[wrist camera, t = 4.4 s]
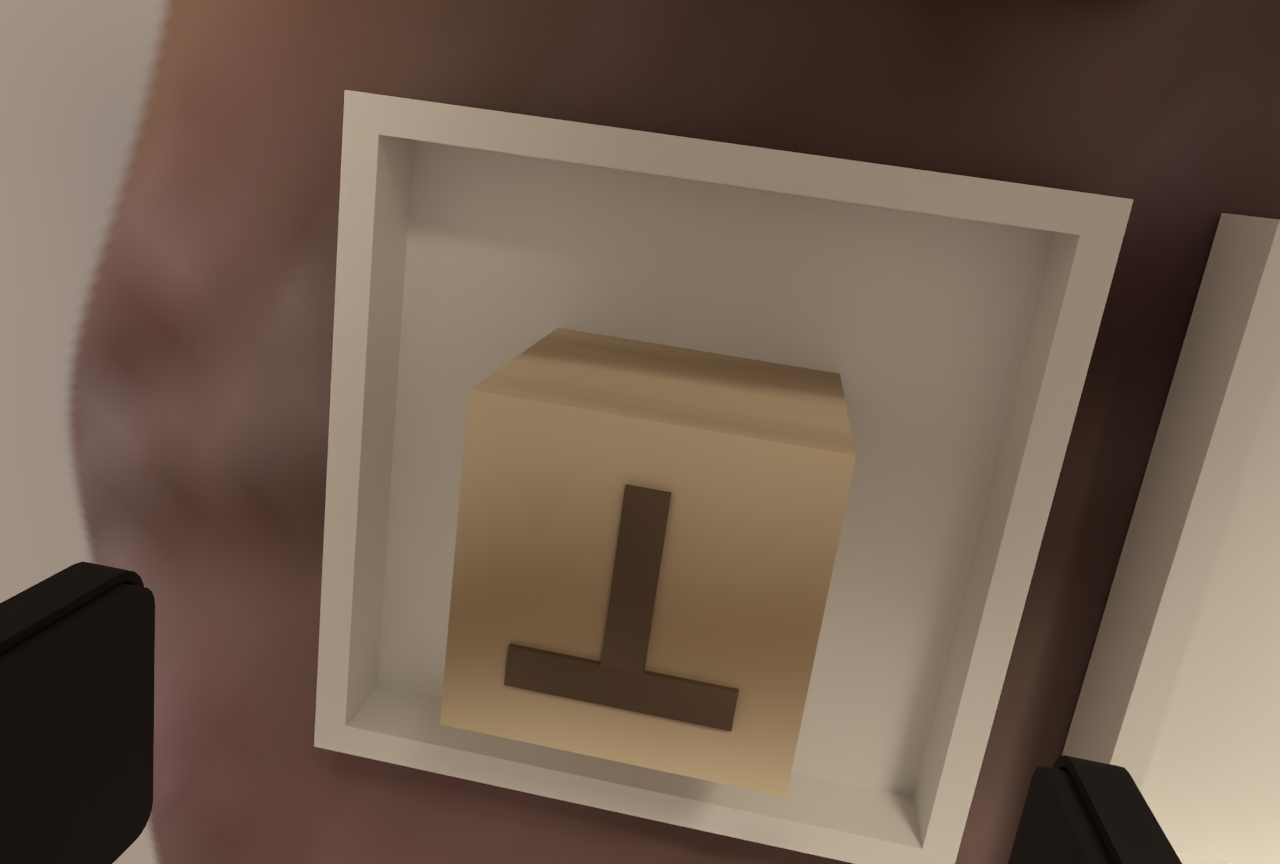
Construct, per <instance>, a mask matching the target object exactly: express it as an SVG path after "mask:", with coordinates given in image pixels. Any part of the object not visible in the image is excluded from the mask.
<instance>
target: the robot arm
mask: <svg viewBox="0 0 1280 864" xmlns="http://www.w3.org/2000/svg"><path fill="white" fill-rule="evenodd" d="M154 639H155V602H154V596H153V594H152V591H150V590H149V589H148V588H145V587H144V585H143V582H142V580H141V577H140V576H139V575H138V574H137V573H135V572H133V571H128V570H123V569H118V568H113V567H108V566H103V565H98V564H93V563H87V562H80V563H77V564H74V565H72V566H70V567H68V568H67V569H64V570H63V571H61V572H59V573H57V574H55V575H53V576H51V577H49V578H47V579H45V580H44V581H42V582H40V583H38V584H36V585H34V586H32V587H30V588H29V589H27V590H25V591H23V592H21V593H19V594H17V595H16V596H13V597H12V598H10V599H8V600H6V601H4V602H2V603H0V864H112V863H113V862H114V861H115V860H116V859H117V858H118V857H119V856H120V855H121V854H122V853H123V852H124V851H125V850H126V849H127V848H128V847H129V846H130V845H131V844H132V843H133V842H134V841H135V840H136V839H137V838H138V837H139V835H140V834H141V833H142V831H143V829H144V828H145V826H146V824H147V821H148V819H149V817H150V813H151V810H152V803H153V738H154ZM1008 864H1182V862H1181V861H1180V859H1179V857H1178V856H1177V854H1176V852H1175V850H1174V849H1173V847H1172V845H1171V844H1170V842H1169V840H1168V838H1167V837H1166V835H1165V833H1164V832H1163V830H1162V828H1161V826H1160V825H1159V823H1158V821H1157V820H1156V818H1155V816H1154V814H1153V813H1152V811H1151V809H1150V808H1149V806H1148V804H1147V802H1146V801H1145V799H1144V797H1143V796H1142V794H1141V792H1140V790H1139V789H1138V787H1137V785H1136V784H1135V782H1134V780H1133V778H1132V777H1131V775H1130V773H1129V772H1128V771H1127V770H1126V769H1125V768H1124V767H1121V766H1116V765H1111V764H1106V763H1101V762H1096V761H1091V760H1086V759H1081V758H1076V757H1070V756H1065V755H1063V756H1061V757H1059V758H1058V760H1057V761H1056V763H1055V764H1054V766H1053V768H1050V767H1045V766H1039V767H1038V768H1037V769H1036V771H1035V772H1034V774H1033V777H1032V780H1031V784H1030V787H1029V791H1028V794H1027V798H1026V802H1025V805H1024V809H1023V812H1022V816H1021V820H1020V823H1019V827H1018V831H1017V834H1016V838H1015V841H1014V845H1013V849H1012V852H1011V856H1010V859H1009V863H1008Z"/></svg>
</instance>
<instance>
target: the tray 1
mask: <svg viewBox="0 0 1280 864" xmlns="http://www.w3.org/2000/svg"><path fill="white" fill-rule="evenodd" d="M1133 200H1134V199H1128V198H1120V197H1113V196H1106V195H1099V194H1092V193H1084V192H1077V191H1070V190H1063V189H1056V188H1048V187H1041V186H1034V185H1027V184H1020V183H1012V182H1005V181H998V180H991V179H984V178H976V177H969V176H962V175H955V174H948V173H940V172H933V171H926V170H919V169H912V168H904V167H897V166H890V165H883V164H876V163H868V162H861V161H854V160H847V159H840V158H832V157H825V156H818V155H811V154H804V153H796V152H789V151H782V150H775V149H768V148H760V147H753V146H746V145H739V144H732V143H724V142H717V141H710V140H703V139H696V138H688V137H681V136H674V135H667V134H660V133H652V132H645V131H638V130H631V129H624V128H616V127H609V126H602V125H595V124H588V123H580V122H573V121H566V120H559V119H552V118H544V117H537V116H530V115H523V114H516V113H508V112H501V111H494V110H487V109H480V108H472V107H465V106H458V105H451V104H443V103H436V102H429V101H422V100H415V99H407V98H400V97H393V96H386V95H379V94H371V93H364V92H357V91H350V90H345V93H344V115H343V136H342V158H341V179H340V201H339V222H338V244H337V265H336V286H335V308H334V329H333V351H332V372H331V394H330V415H329V436H328V458H327V479H326V501H325V522H324V544H323V565H322V587H321V608H320V629H319V651H318V672H317V694H316V715H315V737H314V747H319V748H323V749H328V750H332V751H337V752H342V753H346V754H351V755H356V756H360V757H365V758H369V759H374V760H379V761H383V762H388V763H392V764H397V765H402V766H406V767H411V768H415V769H420V770H425V771H429V772H434V773H439V774H443V775H448V776H452V777H457V778H462V779H466V780H471V781H475V782H480V783H485V784H489V785H494V786H498V787H503V788H508V789H512V790H517V791H522V792H526V793H531V794H535V795H540V796H545V797H549V798H554V799H558V800H563V801H568V802H572V803H577V804H582V805H586V806H591V807H595V808H600V809H605V810H609V811H614V812H618V813H623V814H628V815H632V816H637V817H641V818H646V819H651V820H655V821H660V822H665V823H669V824H674V825H678V826H683V827H688V828H692V829H697V830H701V831H706V832H711V833H715V834H720V835H724V836H729V837H734V838H738V839H743V840H748V841H752V842H757V843H761V844H766V845H771V846H775V847H780V848H784V849H789V850H794V851H798V852H803V853H808V854H812V855H817V856H821V857H826V858H831V859H835V860H840V861H844V862H849V863H854V864H955V862H956V858H957V854H958V850H959V847H960V843H961V839H962V836H963V832H964V828H965V824H966V821H967V817H968V813H969V810H970V806H971V802H972V798H973V795H974V791H975V787H976V784H977V780H978V776H979V772H980V769H981V765H982V761H983V758H984V754H985V750H986V746H987V743H988V739H989V735H990V732H991V728H992V724H993V720H994V717H995V713H996V709H997V706H998V702H999V698H1000V694H1001V691H1002V687H1003V683H1004V680H1005V676H1006V672H1007V668H1008V665H1009V661H1010V657H1011V653H1012V650H1013V646H1014V642H1015V639H1016V635H1017V631H1018V627H1019V624H1020V620H1021V616H1022V613H1023V609H1024V605H1025V601H1026V598H1027V594H1028V590H1029V587H1030V583H1031V579H1032V575H1033V572H1034V568H1035V564H1036V561H1037V557H1038V553H1039V549H1040V546H1041V542H1042V538H1043V535H1044V531H1045V527H1046V523H1047V520H1048V516H1049V512H1050V509H1051V505H1052V501H1053V497H1054V494H1055V490H1056V486H1057V483H1058V479H1059V475H1060V471H1061V468H1062V464H1063V460H1064V457H1065V453H1066V449H1067V445H1068V442H1069V438H1070V434H1071V431H1072V427H1073V423H1074V419H1075V416H1076V412H1077V408H1078V405H1079V401H1080V397H1081V393H1082V390H1083V386H1084V382H1085V379H1086V375H1087V371H1088V367H1089V364H1090V360H1091V356H1092V353H1093V349H1094V345H1095V341H1096V338H1097V334H1098V330H1099V327H1100V323H1101V319H1102V315H1103V312H1104V308H1105V304H1106V301H1107V297H1108V293H1109V289H1110V286H1111V282H1112V278H1113V275H1114V271H1115V267H1116V263H1117V260H1118V256H1119V252H1120V249H1121V245H1122V241H1123V237H1124V234H1125V230H1126V226H1127V223H1128V219H1129V215H1130V211H1131V208H1132V204H1133ZM557 328H563V329H569V330H575V331H581V332H587V333H593V334H600V335H606V336H612V337H618V338H624V339H630V340H636V341H643V342H649V343H655V344H661V345H667V346H673V347H680V348H686V349H692V350H698V351H704V352H710V353H716V354H723V355H729V356H735V357H741V358H747V359H753V360H759V361H766V362H772V363H778V364H784V365H790V366H796V367H802V368H809V369H815V370H821V371H827V372H833V373H839V374H840V377H841V382H842V387H843V392H844V397H845V402H846V407H847V412H848V417H849V422H850V427H851V432H852V437H853V442H854V447H855V452H856V460H855V465H854V470H853V474H852V479H851V484H850V489H849V494H848V499H847V504H846V508H845V513H844V518H843V523H842V528H841V533H840V537H839V542H838V547H837V552H836V557H835V562H834V567H833V571H832V576H831V581H830V586H829V591H828V596H827V601H826V605H825V610H824V615H823V620H822V625H821V630H820V634H819V639H818V644H817V649H816V654H815V659H814V664H813V668H812V673H811V678H810V683H809V688H808V693H807V697H806V702H805V707H804V712H803V717H802V722H801V727H800V731H799V736H798V741H797V746H796V751H795V756H794V761H793V765H792V770H791V775H790V780H789V785H788V790H787V794H786V797H782V796H778V795H773V794H768V793H764V792H759V791H754V790H749V789H745V788H740V787H735V786H730V785H726V784H721V783H716V782H711V781H707V780H702V779H697V778H692V777H688V776H683V775H678V774H674V773H669V772H664V771H659V770H655V769H650V768H645V767H640V766H636V765H631V764H626V763H621V762H617V761H612V760H607V759H602V758H598V757H593V756H588V755H583V754H579V753H574V752H569V751H565V750H560V749H555V748H550V747H546V746H541V745H536V744H531V743H527V742H522V741H517V740H512V739H508V738H503V737H498V736H493V735H489V734H484V733H479V732H474V731H470V730H465V729H460V728H456V727H451V726H446V725H441V724H440V715H441V704H442V692H443V681H444V670H445V658H446V647H447V635H448V624H449V613H450V601H451V590H452V578H453V567H454V555H455V544H456V533H457V521H458V510H459V498H460V487H461V476H462V464H463V453H464V441H465V430H466V418H467V407H468V396H469V389H470V388H472V387H473V386H475V385H476V384H478V383H479V382H481V381H482V380H483V379H485V378H486V377H488V376H489V375H491V374H492V373H494V372H495V371H496V370H498V369H499V368H501V367H502V366H504V365H505V364H507V363H508V362H509V361H511V360H512V359H514V358H515V357H517V356H518V355H520V354H521V353H522V352H524V351H525V350H527V349H528V348H530V347H531V346H533V345H534V344H535V343H537V342H538V341H540V340H541V339H543V338H544V337H546V336H547V335H548V334H550V333H551V332H553V331H554V330H556V329H557Z"/></svg>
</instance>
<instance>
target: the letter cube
mask: <svg viewBox="0 0 1280 864" xmlns="http://www.w3.org/2000/svg"><path fill="white" fill-rule="evenodd" d="M855 460H856V452H855V447H854V442H853V437H852V432H851V427H850V422H849V417H848V412H847V407H846V402H845V397H844V392H843V387H842V382H841V377H840V374H839V373H833V372H827V371H821V370H815V369H809V368H802V367H796V366H790V365H784V364H778V363H772V362H766V361H759V360H753V359H747V358H741V357H735V356H729V355H723V354H716V353H710V352H704V351H698V350H692V349H686V348H680V347H673V346H667V345H661V344H655V343H649V342H643V341H636V340H630V339H624V338H618V337H612V336H606V335H600V334H593V333H587V332H581V331H575V330H569V329H563V328H557V329H556V330H554V331H553V332H551V333H550V334H548V335H547V336H546V337H544V338H543V339H541V340H540V341H538V342H537V343H535V344H534V345H533V346H531V347H530V348H528V349H527V350H525V351H524V352H522V353H521V354H520V355H518V356H517V357H515V358H514V359H512V360H511V361H509V362H508V363H507V364H505V365H504V366H502V367H501V368H499V369H498V370H496V371H495V372H494V373H492V374H491V375H489V376H488V377H486V378H485V379H483V380H482V381H481V382H479V383H478V384H476V385H475V386H473V387H472V388H470V389H469V396H468V407H467V418H466V430H465V441H464V453H463V464H462V476H461V487H460V498H459V510H458V521H457V533H456V544H455V555H454V567H453V578H452V590H451V601H450V613H449V624H448V635H447V647H446V658H445V670H444V681H443V692H442V704H441V715H440V724H441V725H446V726H451V727H456V728H460V729H465V730H470V731H474V732H479V733H484V734H489V735H493V736H498V737H503V738H508V739H512V740H517V741H522V742H527V743H531V744H536V745H541V746H546V747H550V748H555V749H560V750H565V751H569V752H574V753H579V754H583V755H588V756H593V757H598V758H602V759H607V760H612V761H617V762H621V763H626V764H631V765H636V766H640V767H645V768H650V769H655V770H659V771H664V772H669V773H674V774H678V775H683V776H688V777H692V778H697V779H702V780H707V781H711V782H716V783H721V784H726V785H730V786H735V787H740V788H745V789H749V790H754V791H759V792H764V793H768V794H773V795H778V796H782V797H786V794H787V790H788V785H789V780H790V775H791V770H792V765H793V761H794V756H795V751H796V746H797V741H798V736H799V731H800V727H801V722H802V717H803V712H804V707H805V702H806V697H807V693H808V688H809V683H810V678H811V673H812V668H813V664H814V659H815V654H816V649H817V644H818V639H819V634H820V630H821V625H822V620H823V615H824V610H825V605H826V601H827V596H828V591H829V586H830V581H831V576H832V571H833V567H834V562H835V557H836V552H837V547H838V542H839V537H840V533H841V528H842V523H843V518H844V513H845V508H846V504H847V499H848V494H849V489H850V484H851V479H852V474H853V470H854V465H855Z"/></svg>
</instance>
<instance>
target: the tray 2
mask: <svg viewBox="0 0 1280 864" xmlns="http://www.w3.org/2000/svg"><path fill="white" fill-rule="evenodd" d="M1063 755H1065V756H1070V757H1076V758H1081V759H1086V760H1091V761H1096V762H1101V763H1106V764H1111V765H1116V766H1121V767H1124V768H1125V769H1126V770H1127V771H1128V772H1129V773H1130V775H1131V777H1132V778H1133V780H1134V782H1135V784H1136V785H1137V787H1138V789H1139V790H1140V792H1141V794H1142V796H1143V797H1144V799H1145V801H1146V802H1147V804H1148V806H1149V808H1150V809H1151V811H1152V813H1153V814H1154V816H1155V818H1156V820H1157V821H1158V823H1159V825H1160V826H1161V828H1162V830H1163V832H1164V833H1165V835H1166V837H1167V838H1168V840H1169V842H1170V844H1171V845H1172V847H1173V849H1174V850H1175V852H1176V854H1177V856H1178V857H1179V859H1180V861H1181V862H1182V864H1280V220H1279V219H1270V218H1262V217H1253V216H1245V215H1237V214H1228V213H1222V214H1221V217H1220V220H1219V224H1218V227H1217V231H1216V234H1215V237H1214V241H1213V244H1212V248H1211V251H1210V254H1209V258H1208V261H1207V265H1206V268H1205V271H1204V275H1203V278H1202V282H1201V285H1200V288H1199V292H1198V295H1197V298H1196V302H1195V305H1194V309H1193V312H1192V315H1191V319H1190V322H1189V326H1188V329H1187V332H1186V336H1185V339H1184V343H1183V346H1182V349H1181V353H1180V356H1179V360H1178V363H1177V366H1176V370H1175V373H1174V376H1173V380H1172V383H1171V387H1170V390H1169V393H1168V397H1167V400H1166V404H1165V407H1164V410H1163V414H1162V417H1161V421H1160V424H1159V427H1158V431H1157V434H1156V437H1155V441H1154V444H1153V448H1152V451H1151V454H1150V458H1149V461H1148V465H1147V468H1146V471H1145V475H1144V478H1143V482H1142V485H1141V488H1140V492H1139V495H1138V499H1137V502H1136V505H1135V509H1134V512H1133V515H1132V519H1131V522H1130V526H1129V529H1128V532H1127V536H1126V539H1125V543H1124V546H1123V549H1122V553H1121V556H1120V560H1119V563H1118V566H1117V570H1116V573H1115V577H1114V580H1113V583H1112V587H1111V590H1110V593H1109V597H1108V600H1107V604H1106V607H1105V610H1104V614H1103V617H1102V621H1101V624H1100V627H1099V631H1098V634H1097V638H1096V641H1095V644H1094V648H1093V651H1092V654H1091V658H1090V661H1089V665H1088V668H1087V671H1086V675H1085V678H1084V682H1083V685H1082V688H1081V692H1080V695H1079V699H1078V702H1077V705H1076V709H1075V712H1074V716H1073V719H1072V722H1071V726H1070V729H1069V732H1068V736H1067V739H1066V743H1065V746H1064V749H1063V753H1062V756H1063Z"/></svg>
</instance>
